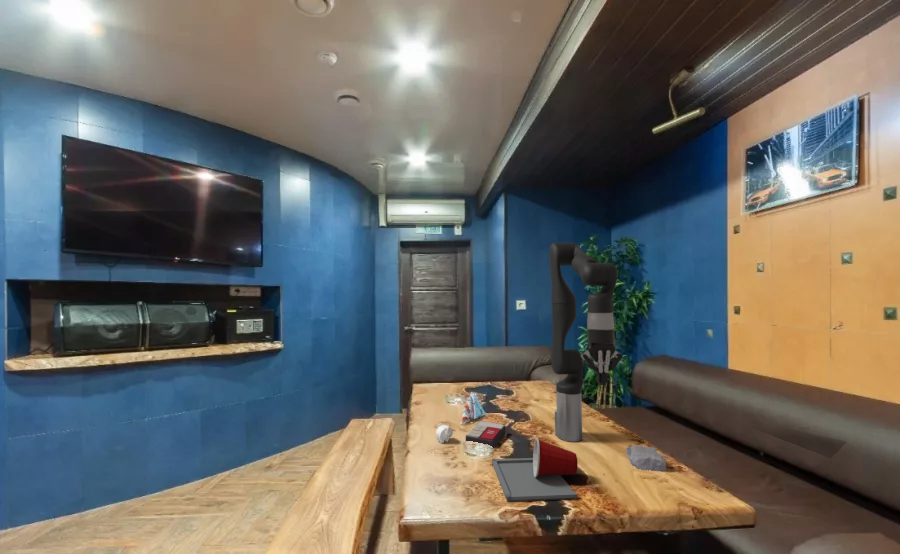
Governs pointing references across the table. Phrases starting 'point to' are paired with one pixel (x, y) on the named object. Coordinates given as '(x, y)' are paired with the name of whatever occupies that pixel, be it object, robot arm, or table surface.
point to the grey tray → (529, 482)
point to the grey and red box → (486, 433)
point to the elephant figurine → (443, 433)
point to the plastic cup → (553, 460)
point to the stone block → (646, 458)
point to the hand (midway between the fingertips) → (602, 384)
